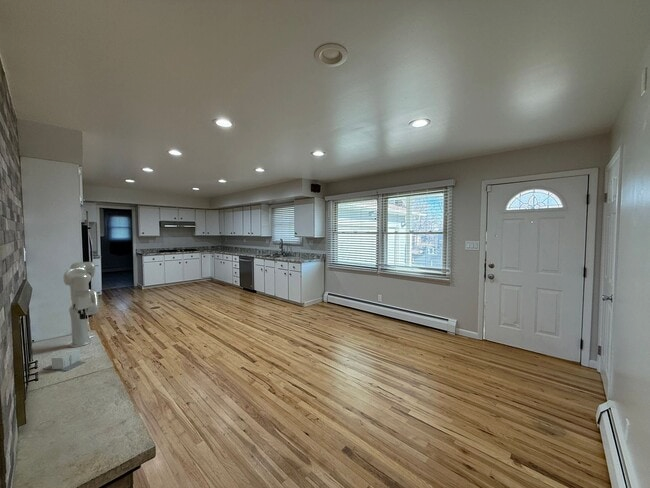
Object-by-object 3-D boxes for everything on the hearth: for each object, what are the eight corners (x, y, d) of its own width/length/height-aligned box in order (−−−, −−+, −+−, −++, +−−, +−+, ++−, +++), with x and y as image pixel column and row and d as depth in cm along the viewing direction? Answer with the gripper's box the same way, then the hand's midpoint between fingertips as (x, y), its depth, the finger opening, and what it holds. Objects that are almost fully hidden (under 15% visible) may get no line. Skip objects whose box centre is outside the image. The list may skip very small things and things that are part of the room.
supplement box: (81, 360, 187) (63, 369, 174) (70, 360, 187) (51, 369, 174) (80, 349, 186) (62, 358, 174) (69, 349, 187) (50, 357, 174)
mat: (63, 360, 187) (63, 360, 187) (85, 362, 184) (85, 361, 184) (42, 369, 175) (42, 368, 175) (66, 371, 172) (66, 370, 172)
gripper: (88, 290, 199) (89, 315, 200) (65, 295, 185) (66, 322, 185) (97, 290, 198) (97, 316, 199) (74, 295, 183) (75, 322, 184)
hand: (82, 318), depth 192 cm, fingers closed
